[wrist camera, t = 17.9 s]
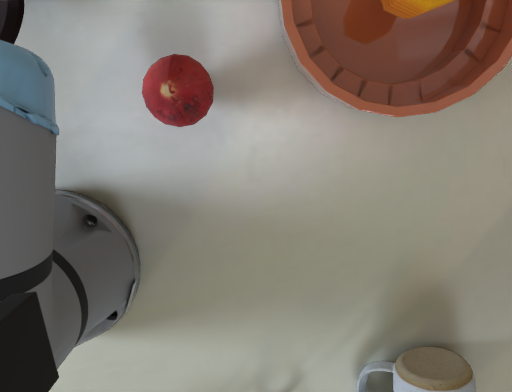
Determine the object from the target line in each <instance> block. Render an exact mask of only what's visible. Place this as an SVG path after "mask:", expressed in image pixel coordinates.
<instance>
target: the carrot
mask: <svg viewBox="0 0 512 392" xmlns="http://www.w3.org/2000/svg"><path fill="white" fill-rule="evenodd" d="M452 1H454V0H380V3H381V6H382V9H383V10H384V11H386V12H388V13H390V14H392V15H394V16H396V17H399V18H403V19H409V18H412V17H415V16H418V15H420V14H423V13H425V12H428V11H431V10H433V9H436V8H438V7H441V6H443V5H445V4H448V3H450V2H452Z"/></svg>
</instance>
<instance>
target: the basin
mask: <svg viewBox="0 0 512 392" xmlns="http://www.w3.org/2000/svg"><path fill="white" fill-rule="evenodd" d="M278 2H279V11H280V20H281V28H282V35H283V38H284V40H285V42H286V45H287V47H288V49H289V51H290V53H291V56H292V58H293V60H294V62H295V65H296V67H297V68H298V69H299V70H300V71H301V72H302V74H303V75H304V76H305V77H306V78H307V79H308V80H309V81H310V82H311V83H312V85H313V86H314V87H315V88H316V89H317V90H318V91H319V92H320V93H322V94H324V95H326V96H327V97H329V98H331V99H333V100H334V101H336V102H338V103H340V104H342V105H343V106H345V107H347V108H350V109H356V110H361V111H366V112H371V113H377V114H382V115H388V116H393V117H403V116H411V115H418V114H426V113H433V112H437V111H439V110H442V109H444V108H446V107H448V106H450V105H452V104H455V103H457V102H459V101H461V100H463V99H465V98H467V97H470V96H472V95H473V94H475V93H476V92H477V91H478V90H479V89H480V88H482V87H483V86H484V85H485V84H486V83H487V82H488V81H489V80H491V79H492V78H493V77H494V76H495V75H496V74H497V73H499V72H500V71H501V70H502V69H503V68H504V67H505V66H506V64H507V63H508V61H509V60H510V58H511V56H512V0H454V1H452V2H450V3H448V4H445V5H443V6H441V7H438V8H436V9H433V10H431V11H428V12H425V13H423V14H420V15H418V16H415V17H412V18H409V19H403V18H399V17H396V16H394V15H392V14H390V13H388V12H386V11H384V10H383V9H382V6H381V3H380V0H278Z"/></svg>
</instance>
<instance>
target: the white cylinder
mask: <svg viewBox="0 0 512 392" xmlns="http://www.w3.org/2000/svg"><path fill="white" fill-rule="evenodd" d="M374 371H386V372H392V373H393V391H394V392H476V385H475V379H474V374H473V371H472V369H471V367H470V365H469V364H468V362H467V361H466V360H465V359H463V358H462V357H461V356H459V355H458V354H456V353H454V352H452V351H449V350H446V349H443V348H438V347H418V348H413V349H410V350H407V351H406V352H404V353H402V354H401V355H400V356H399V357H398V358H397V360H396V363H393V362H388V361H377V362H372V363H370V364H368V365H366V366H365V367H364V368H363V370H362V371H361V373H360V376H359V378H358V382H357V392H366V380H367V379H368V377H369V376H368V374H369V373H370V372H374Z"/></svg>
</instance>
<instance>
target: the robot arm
mask: <svg viewBox="0 0 512 392" xmlns="http://www.w3.org/2000/svg"><path fill="white" fill-rule="evenodd" d="M56 135H59V128H58V126H57V125H56V121H55V92H54V79H53V75H52V73H51V71H50V69H49V67H48V66H47V64H46V63H45V62H44V61H43V60H42V59H41V58H40V57H38V56H37V55H36V54H34V53H32V52H31V51H29V50H27V49H24V48H22V47H19V46H16V45H14V44H11V43H8V42H5V41H2V40H0V392H48V391H49V390H50V389H51V387H52V386H53V385H54V383H55V382H56V381H57V379H58V378H59V375H58V372H57V369H58V367H59V366H60V365H61V364H62V362H63V361H64V360H65V358H66V357H67V356H68V354H69V353H70V352H71V351H72V349H73V348H74V347H76V346H78V345H80V344H82V343H84V342H86V341H88V340H90V339H92V338H94V337H96V336H98V335H100V334H102V333H103V332H105V331H107V330H108V329H109V328H111V327H112V326H113V325H114V324H115V323H116V322H117V321H118V320H119V319H120V318H121V317H122V316H123V314H124V313H125V311H126V313H127V311H128V310H129V308H130V304H131V302H132V300H133V298H134V296H135V294H136V291H137V288H138V284H139V278H140V262H139V255H138V252H137V248H136V245H135V243H134V240H133V238H132V236H131V234H130V233H129V231H128V229H127V228H126V226H125V225H124V224H123V222H122V221H121V220H120V219H119V218H118V217H117V216H116V215H115V214H114V213H113V212H112V211H111V210H109V209H108V208H107V207H106V206H104V205H103V204H101V203H99V202H98V201H96V200H94V199H92V198H90V197H87V196H85V195H82V194H79V193H75V192H70V191H60V190H55V164H56Z"/></svg>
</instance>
